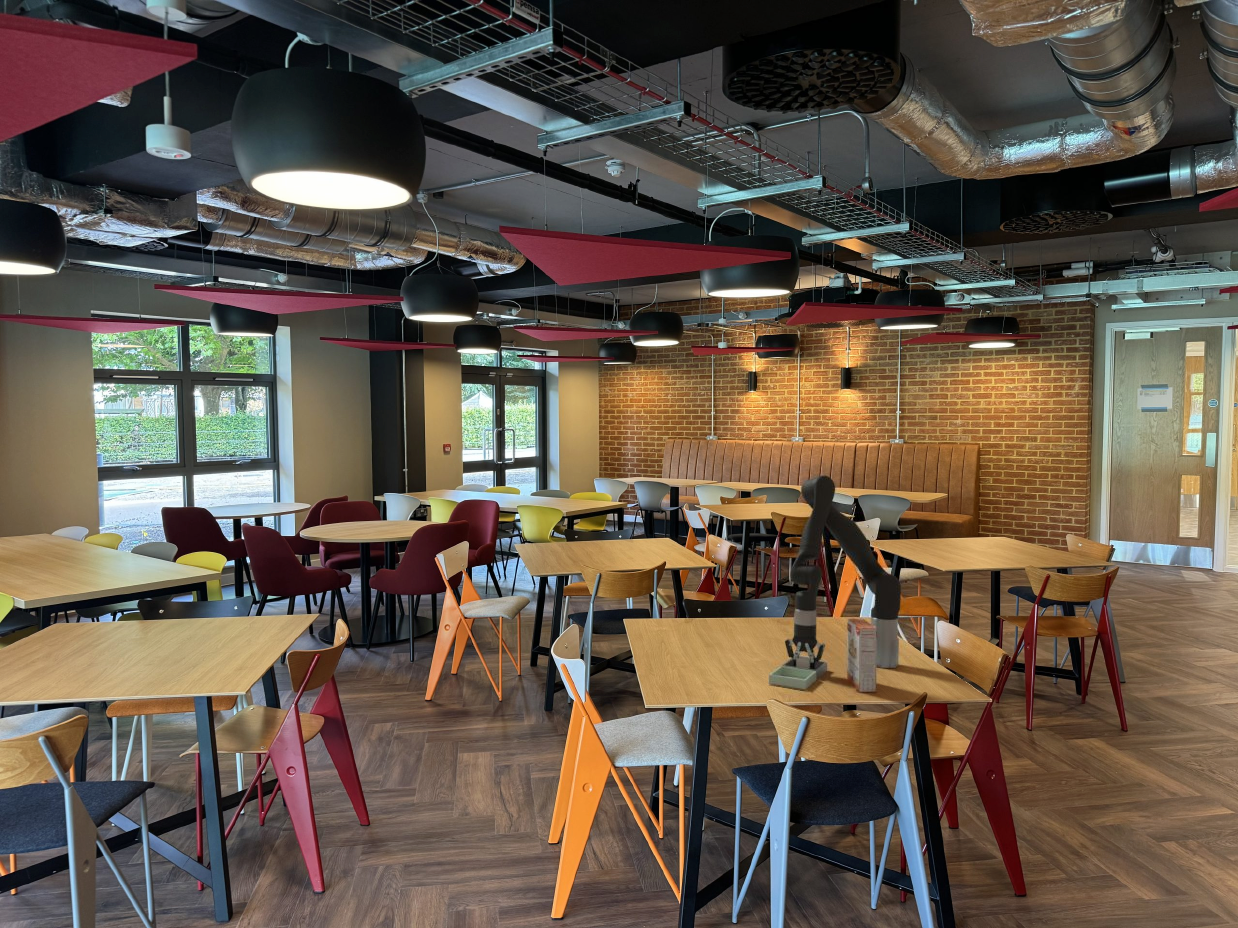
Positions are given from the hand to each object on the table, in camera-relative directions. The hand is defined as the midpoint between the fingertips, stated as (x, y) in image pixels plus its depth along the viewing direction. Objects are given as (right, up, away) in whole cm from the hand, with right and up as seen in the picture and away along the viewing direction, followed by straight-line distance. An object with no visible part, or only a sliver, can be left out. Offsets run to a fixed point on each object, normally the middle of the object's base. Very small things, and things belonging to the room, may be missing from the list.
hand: (804, 671), depth 270 cm
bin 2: (0, -1, 0) cm, 1 cm away
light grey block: (0, 0, 0) cm, 0 cm away
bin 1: (-6, -1, -11) cm, 13 cm away
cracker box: (+15, -2, -13) cm, 21 cm away
